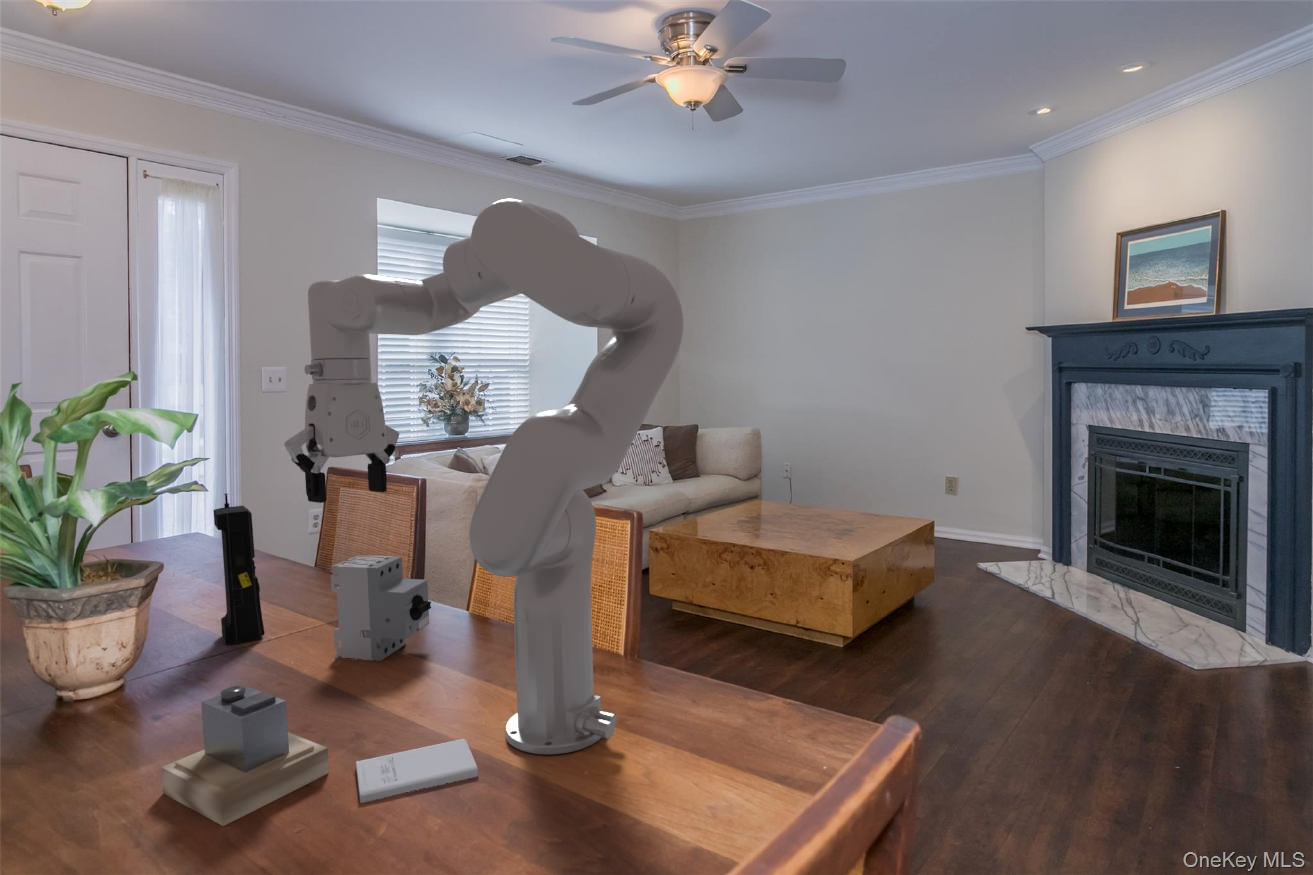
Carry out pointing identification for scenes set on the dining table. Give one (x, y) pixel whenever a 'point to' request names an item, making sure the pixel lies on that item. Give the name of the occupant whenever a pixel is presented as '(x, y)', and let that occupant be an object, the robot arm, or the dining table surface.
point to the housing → (245, 727)
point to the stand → (241, 780)
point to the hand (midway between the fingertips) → (348, 496)
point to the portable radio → (239, 575)
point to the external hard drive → (415, 770)
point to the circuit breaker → (376, 606)
